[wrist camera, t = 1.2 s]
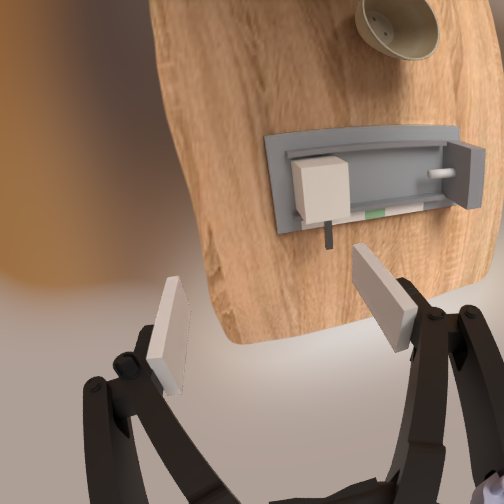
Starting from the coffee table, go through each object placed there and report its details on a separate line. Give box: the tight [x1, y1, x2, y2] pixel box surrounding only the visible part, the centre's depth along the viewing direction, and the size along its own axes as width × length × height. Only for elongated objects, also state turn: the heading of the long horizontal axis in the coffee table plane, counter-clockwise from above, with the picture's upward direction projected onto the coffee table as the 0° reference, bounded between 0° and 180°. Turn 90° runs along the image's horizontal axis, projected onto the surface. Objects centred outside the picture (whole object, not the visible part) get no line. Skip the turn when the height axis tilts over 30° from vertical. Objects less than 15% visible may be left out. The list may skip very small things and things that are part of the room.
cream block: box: [291, 155, 350, 250], centre depth 33 cm, size 10×5×5 cm, turn 9°
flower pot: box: [355, 0, 440, 60], centre depth 24 cm, size 10×10×7 cm
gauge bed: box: [264, 125, 486, 234], centre depth 32 cm, size 12×28×7 cm, turn 99°
